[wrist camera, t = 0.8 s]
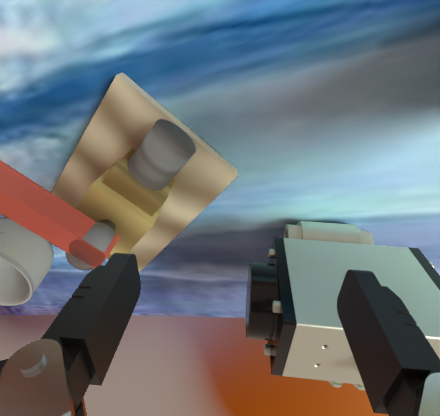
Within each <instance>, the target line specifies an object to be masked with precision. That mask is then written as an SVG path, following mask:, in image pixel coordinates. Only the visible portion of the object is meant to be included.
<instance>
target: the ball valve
mask: <svg viewBox="0 0 440 416" xmlns="http://www.w3.org/2000/svg"><path fill="white" fill-rule="evenodd" d="M268 258H270V263H268V262H256V261H251V262H250V264H249V271H248V282H247V297H246V337H247V338H250V339H259V340H267V341H268V344H265V345H264V354H265V355H270V367H271V374H272V375H280V376H289V377H298V378H307V379H316V380H325V381H329V382H330V384H331V385H332V386H334V387H341V386H342V383H351V384H353V385H354V386H355V387H356V388H357V389H359V390H365V387H364V384H363V382H362V379H361V376H360V373H359V371H358V368H357V365H356V363H355V360H354V357H353V354H352V352H351V349H350V346H349V343H348V341H347V338H346V335H345V332H344V330H343V327H342V324H341V321H340V319H339V316H338V312H337V298H338V295H339V292H340V289H341V286H342V283H343V280H344V278H345V275H346V272H347V271H348V270H365V271H372V272H373V273H374V274H375V276H376V278H377V279H378V281H379V283H380V284H381V286H386V287H388V288H389V289H391V290H392V291H393V292H394V293H395V294H396V295H397V296H398V297H400V298H401V300H402V301H403V303H404V304H405V306H406V307H407V309H408V311H409V314H410V315H412V317H413V318H414V320H415V321H416V323H417V324H416V325H417V326H419V328H420V329H421V331H422V332H423V334H424V335H425V337H426V338H427V340H428V342H429V343H430V345H431V346H432V348H433V349H434V351H435V352H436V354H437V356H438V357H439V359H440V276H439V274H438V273H437V272H436V270H435V269H434V264H433V263H432V262H429V261H428V260H427V259H426V258H425V256H424V255H423V254H422V252H421V251H420V250H419V249H418V248H407V247H394V246H381V245H374V240H373V236H372V234H371V232H370V231H366V230H360V229H359V227H358V226H357V225H352V224H337V223H323V222H309V221H298V223H297V225H291V224H287V225H286V226H285V230H284V237H283V238H275V237H274V239H273V245H272V249H269V251H268Z"/></svg>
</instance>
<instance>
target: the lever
mask: <svg viewBox="0 0 440 416" xmlns="http://www.w3.org/2000/svg"><path fill="white" fill-rule="evenodd" d="M0 213H1V214H2V215H4V216H6V217H7V218H9V219H11V220H13V221H14V222H16V223H18V224H19V225H21V226H23V227H25V228H26V229H28V230H30V231H31V232H33V233H35V234H37V235H38V236H40V237H42V238H43V239H45V240H47V241H49V242H50V243H52V244H54V245H55V246H57V247H59V248H61V249H62V250H64V251H66V252H67V253H69V254H71V256H72V257H73V258H74V259H75V260H76V261H77V262H79V263H81V264H83V265H85V266H89V267H93V268H96V267H97V266H99V265H102V264H103V263H104V261H105V260H106V258H107V257H108V255H109V254H110V252H111V251H112V249H113V248H114V246H115V245H116V243H117V241H118V240H119V238H120V237H119V236H118V235H116V233H115V232H114V230H113V229H112V228H111V227H109V226H108V225H106V224H104V223H101V222H96V221H94V220H93V219H91V218H90V217H88V216H86V215H85V214H83V213H82V212H80V211H79V210H77V209H75V208H74V207H72V206H71V205H69V204H68V203H66V202H65V201H63V200H61V199H60V198H58V197H57V196H55V195H54V194H52V193H50V192H49V191H47V190H46V189H44V188H43V187H41V186H40V185H38V184H36V183H35V182H33V181H32V180H30V179H29V178H27V177H25V176H24V175H22V174H21V173H19V172H18V171H16V170H15V169H13V168H11V167H10V166H8V165H7V164H5V163H4V162H2V161H0Z"/></svg>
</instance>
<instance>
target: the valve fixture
mask: <svg viewBox="0 0 440 416" xmlns="http://www.w3.org/2000/svg"><path fill="white" fill-rule="evenodd" d="M237 176H238V169H236V168H235V167H234V166H233V165H232V164H230V163H229V162H228V161H227V160H226V159H225V158H223V157H222V156H221V155H220V154H219V153H218V152H216V151H215V150H214V149H213V148H212V147H210V146H209V145H208V144H207V143H206V142H205V141H203V140H202V139H201V138H200V137H199V136H197V135H196V134H195V133H194V132H193V131H192V130H190V129H189V128H188V127H187V126H186V125H184V124H183V123H182V122H181V121H180V120H179V119H177V118H176V117H175V116H174V115H173V114H171V113H170V112H169V111H168V110H167V109H166V108H164V107H163V106H162V105H161V104H160V103H158V102H157V101H156V100H155V99H154V98H153V97H151V96H150V95H149V94H148V93H147V92H145V91H144V90H143V89H142V88H141V87H140V86H138V85H137V84H136V83H135V82H134V81H132V80H131V79H130V78H129V77H128V76H127V75H125V74H124V73H120V74H117V75H116V76H115V78H114V80H113V82H112V84H111V85H110V87H109V89H108V91H107V93H106V94H105V96H104V98H103V100H102V102H101V103H100V105H99V107H98V109H97V111H96V112H95V114H94V116H93V118H92V120H91V121H90V123H89V125H88V127H87V129H86V130H85V132H84V134H83V136H82V138H81V139H80V141H79V143H78V145H77V147H76V148H75V150H74V152H73V154H72V156H71V157H70V159H69V161H68V163H67V165H66V166H65V168H64V170H63V172H62V174H61V175H60V177H59V179H58V181H57V183H56V184H55V186H54V188H53V190H52V192H51V193H52V194H54V195H55V196H57V197H58V198H60V199H61V200H63V201H65V202H66V203H68V204H69V205H71V206H72V207H74V208H75V209H77V210H79V211H80V212H82V213H83V214H85V215H86V216H88V217H90V218H91V219H93V220H94V221H96V222H101V223H104V224H106V225H108V226H109V227H111V228H112V229H113V230H114V232H115V233H116V235H118V236H119V237H120V238H119V240H118V241H117V243H116V245H115V246H114V248H113V249H112V251H111V252H110V254H109V255H108V257H107V258H108V259H110V257H111V256H112V255H113V254H114V253H126V254H135V256H136V259H137V264H138V270H139V272H140V271H141V270H142V269H143V268H144V267H145V266H146V265H147V264H148V263H150V262H151V261H152V260H153V259H154V258H155V257H156V256H157V255H158V254H159V253H160V252H161V251H162V250H163V249H164V248H165V247H166V246H167V245H168V244H169V243H170V242H171V241H172V240H173V239H174V238H175V237H176V236H177V235H178V234H179V233H180V232H181V231H182V230H183V229H184V228H185V227H186V226H187V225H188V224H189V223H190V222H191V221H192V220H193V219H194V218H196V217H197V216H198V215H199V214H200V213H201V212H202V211H203V210H204V209H205V208H206V207H207V206H208V205H209V204H210V203H211V202H212V201H213V200H214V199H215V198H216V197H217V196H218V195H219V194H220V193H221V192H222V191H223V190H224V189H225V188H226V187H227V186H228V185H229V184H230V183H231V182H232V181H233V180H234V179H235V178H236V177H237ZM66 258H67V260H68V262H69V263H70V264H71V265H72V266H73V267H75V268H77V269H79V270H92V269H94V268H93V267H89V266H85V265H83V264H81V263H79V262H77V261H76V260H75V259H74V258H73V257H72V256H71V254H69V253H67V252H66Z"/></svg>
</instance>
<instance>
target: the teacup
mask: <svg viewBox="0 0 440 416" xmlns="http://www.w3.org/2000/svg"><path fill="white" fill-rule="evenodd" d="M53 257H54V254H53V249H52V246H51V244H50V243H49V241H47V240H45V239H43V238H42V237H40V236H38V235H37V234H35V233H33V232H31V231H30V230H28V229H26V228H25V227H23V226H21V225H19V224H18V223H16V222H14V221H13V220H11V219H7V218H0V305H7V306H12V305H19V304H23V303H25V302H27V301H28V300H29V299H30V298H31V297H32V295H33V292H34V291H35V290H36V288H37V287H38V285H39V284H40V283H41V281H42V280H43V278H44V277H45V275H46V274H47V272H48V271H49V269H50V267H51V265H52V263H53Z"/></svg>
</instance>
